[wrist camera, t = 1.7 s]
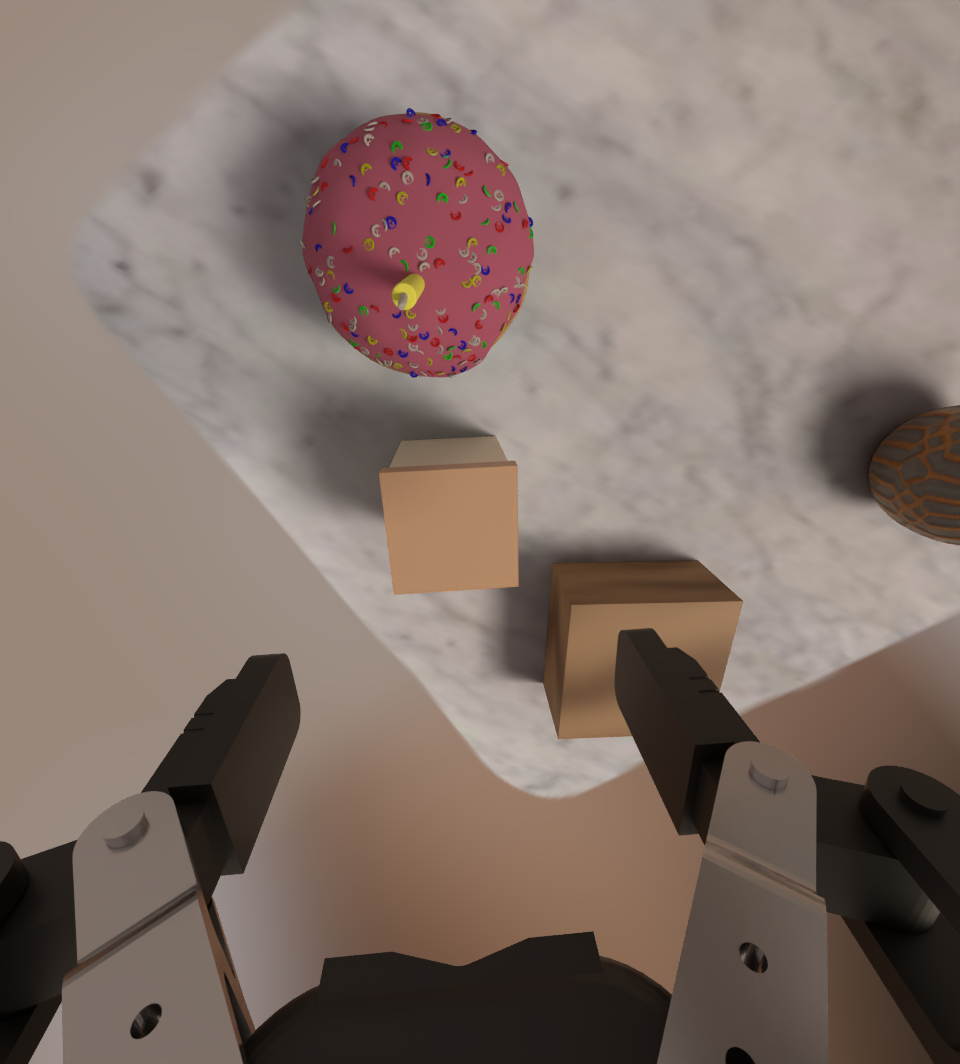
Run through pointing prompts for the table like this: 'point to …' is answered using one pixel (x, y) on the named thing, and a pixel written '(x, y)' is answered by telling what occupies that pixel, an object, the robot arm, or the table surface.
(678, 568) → the brown wooden block
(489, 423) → the table surface
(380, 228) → the cupcake
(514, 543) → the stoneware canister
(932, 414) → the vase
